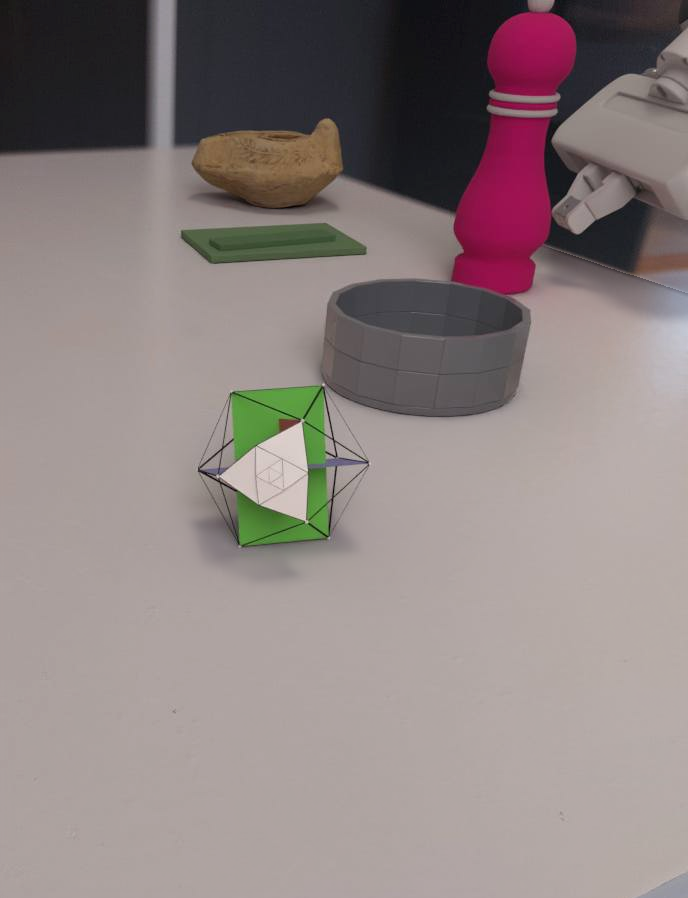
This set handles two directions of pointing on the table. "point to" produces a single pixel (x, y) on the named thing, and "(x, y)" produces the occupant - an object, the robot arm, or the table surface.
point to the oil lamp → (271, 164)
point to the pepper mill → (514, 153)
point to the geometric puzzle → (280, 465)
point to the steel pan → (424, 346)
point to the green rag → (271, 242)
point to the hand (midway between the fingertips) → (562, 224)
